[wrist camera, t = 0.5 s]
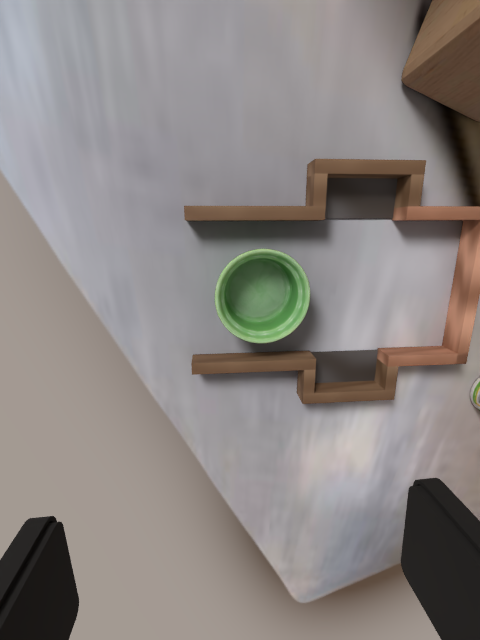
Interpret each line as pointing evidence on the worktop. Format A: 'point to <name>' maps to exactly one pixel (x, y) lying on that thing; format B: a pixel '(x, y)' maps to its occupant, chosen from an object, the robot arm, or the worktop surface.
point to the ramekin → (262, 296)
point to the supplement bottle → (475, 393)
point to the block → (448, 56)
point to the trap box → (358, 203)
